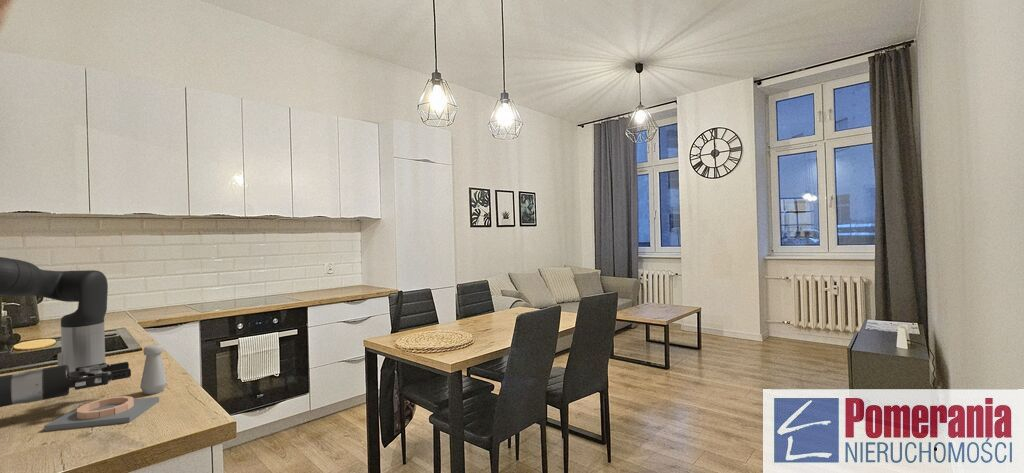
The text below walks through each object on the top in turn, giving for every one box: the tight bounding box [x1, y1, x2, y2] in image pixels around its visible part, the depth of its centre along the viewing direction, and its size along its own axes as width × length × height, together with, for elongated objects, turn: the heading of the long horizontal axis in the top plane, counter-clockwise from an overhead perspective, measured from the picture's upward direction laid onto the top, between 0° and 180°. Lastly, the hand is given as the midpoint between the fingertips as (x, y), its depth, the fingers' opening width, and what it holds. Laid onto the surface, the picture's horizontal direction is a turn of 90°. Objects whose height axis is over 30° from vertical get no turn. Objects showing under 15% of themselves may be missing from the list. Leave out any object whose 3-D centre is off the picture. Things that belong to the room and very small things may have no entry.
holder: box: [43, 395, 160, 432], centre depth 106 cm, size 16×13×3 cm
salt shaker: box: [140, 343, 168, 395], centre depth 121 cm, size 6×6×13 cm
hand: (129, 369), depth 117 cm, fingers open, 8 cm apart
